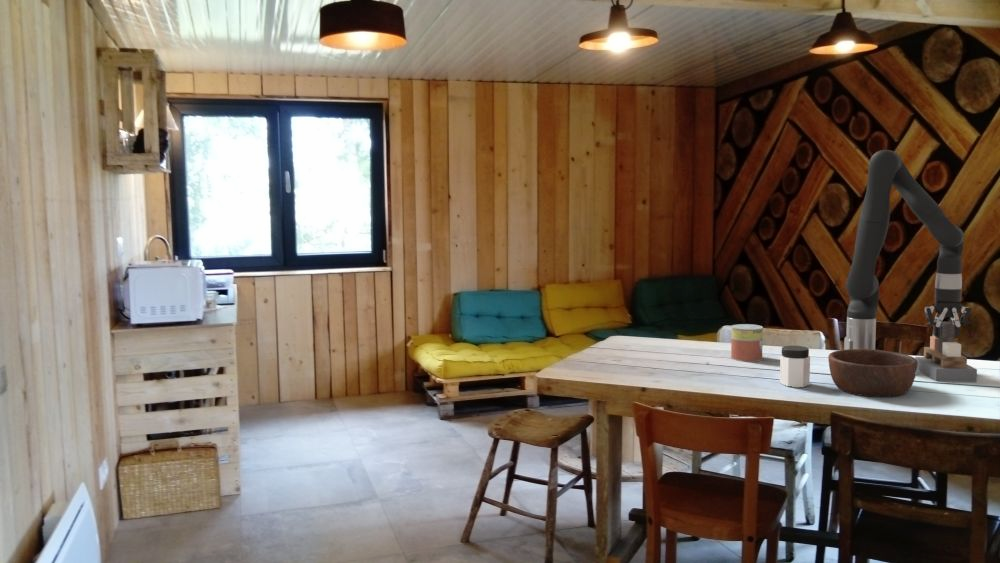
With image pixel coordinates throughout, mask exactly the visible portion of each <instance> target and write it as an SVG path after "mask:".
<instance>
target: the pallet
mask: <svg viewBox="0 0 1000 563" xmlns="http://www.w3.org/2000/svg"><path fill="white" fill-rule="evenodd" d="M953 326H954V325H953V322H952V321H942V322H941V324H940V326H939V327H940V338H939V342H938V350H933V349H931V348H930V346H924V347H923V357H924V358H926V359H932V362H933V363H941V366H940V367H942V368H963V369H967V365H968V357H967V356H965V355H962V354H961V357H947V356H945V355H943V354H942V347H943V342H953V337H952V335H953Z"/></svg>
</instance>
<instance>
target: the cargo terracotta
mask: <svg viewBox="0 0 1000 563" xmlns="http://www.w3.org/2000/svg"><path fill="white" fill-rule="evenodd" d="M929 338H930V339H929V340H930V341H929V347H930V348H931V349H933V350H938V342H939V338H936V337H935V336H934V335H931V336H929Z"/></svg>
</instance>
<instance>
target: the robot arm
mask: <svg viewBox="0 0 1000 563" xmlns="http://www.w3.org/2000/svg"><path fill="white" fill-rule="evenodd" d="M867 171H868V172H867V174H868V175H867V184H866V192H865V195H864V200H863V203H862V206H861V211H860V216H859V221H858V224H857V230H856V237H855V244H854V252H853V259H852V262H851V266H850V270H849V273H848V275H847V276H848V277H847V278H846V282H845V289H846V292H847V294H848V295H849V304H848V307H847V310H846V336H845V337H844V344H843V346H844V348H843V350H848V349H871V350H876V333H877V331H876V330H877V329H876V328H877V312H878V308H879V295H880V294H879V293H880V284H879V283H880V282H879V279H878V278H877V276H876V275H875V272H876V271H875V270H876V265H877V260H878V257H879V255H880V253H881V250H882V249H883V246H884V244H885V240H886V239H887V238H886V237H887V234H888V229H889V223H890V218H891V202H890V200H891V199H890V198H891V190H892V187H894V188H895V189H896V191H897V192H898V193H899V194H900V196H901V197H902V198H903V200H904V201H905V203H906V204H907V206H908V207H909V209H910V210H911V211H912V212H913V214H914V215H915V216H916V217H917V218H918V219H919V221H920V222H921V223H922V224H923V225H924V226H925V227H926V228H927V230H928V231H929V232H930V234H931V235H932V237H933V238H934V239H935V241H936V242H937V243H938V244H939V249H938V251H939V253H938V254H939V255H938V257H937V262H936V275H935V283H934V303H933V304H932V305H931V306H924V307H923V310H924V315H925V318H926V323H927V324H928V325H930V326H932V327H933V330H932V334H933V335H932V336H935V337H936V338H940V327H939V326H940V324H941V322H944V321H943V320H944V319H945V318H946V319H947V318H950V320H951V323H953V335H952V339H958V337H959V336H960V328H961V327H963V326H966V325H967V324H968V323H967V322H968V321H969V317H970V314H971V311H972V309H971V308H970V307H969V306H963V304H962V290H963V288H962V286H963V276H962V269H963V260H962V259H963V252H964V243H965V234H964V231H963V230H962V228H960V227H959V226H956V225H955V224H954V223H953V222H952V221H951V220H950V219H949V218H948V217H947V215H946V213H945V211H944V210H943V209H942V208H941V206H940V205H939V204H938V203H937V202H936V201H935V200H934V198H932V197H931V195H929V193H928V192H927V191H926V190H925V189H924V188H923V187H922V186H921V185H920V184H919V183H918V181H917V180H916V179H915V178H914V177H913V175H912V174H911V173H910V171H909V170H908V168H907V166H906V165H905V163H904V162H903V159H902V158H901V155H899V154H898V153H897V152H896V151H893V150H890V149H881V150H879V151H876V152H875V153H874V154H873V155H872V156H871V157H870V159H869V162H868V170H867ZM934 311H935V313H936V314H935V316H933V313H934ZM960 311H961V316H960V318H959V315H958V314H959V313H960ZM933 317H934V318H933Z"/></svg>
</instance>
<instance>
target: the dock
mask: <svg viewBox="0 0 1000 563" xmlns="http://www.w3.org/2000/svg"><path fill="white" fill-rule="evenodd" d="M914 358H915V359H916V360H917V362H918V365H917V371H919V372H921V373H922V374H923V375H926V376H927V377H928V378H931V379H932V380H933V381H935V382H969V383H971V382H975V383H976V382H977V379H978V378H977V376H978V375H977V374H978V369H977V368H976V367H974V366H971V365H969V364H967V369H963V368H942V367H940V366H941V363H933V362H932V359H926V358H924V356H915V357H914Z"/></svg>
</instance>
